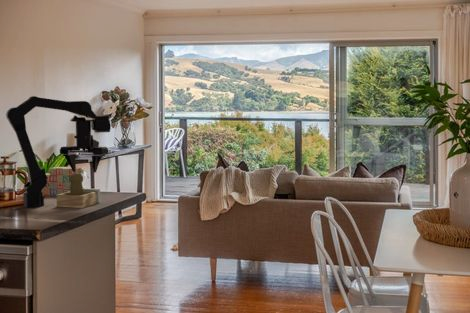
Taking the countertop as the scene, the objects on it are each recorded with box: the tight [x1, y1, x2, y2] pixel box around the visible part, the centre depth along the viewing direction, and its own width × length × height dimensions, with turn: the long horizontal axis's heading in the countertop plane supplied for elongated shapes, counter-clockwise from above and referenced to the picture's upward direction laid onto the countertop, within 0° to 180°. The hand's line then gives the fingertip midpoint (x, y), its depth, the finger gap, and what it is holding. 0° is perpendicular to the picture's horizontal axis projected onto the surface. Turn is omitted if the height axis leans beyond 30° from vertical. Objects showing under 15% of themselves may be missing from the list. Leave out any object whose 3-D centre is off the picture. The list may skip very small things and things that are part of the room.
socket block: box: [55, 191, 98, 209], centre depth 221 cm, size 11×11×4 cm
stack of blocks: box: [41, 166, 83, 197], centre depth 252 cm, size 21×6×12 cm, turn 82°
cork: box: [69, 173, 84, 196], centre depth 220 cm, size 6×6×11 cm
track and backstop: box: [83, 187, 101, 204], centre depth 219 cm, size 19×12×6 cm, turn 164°
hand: (84, 172), depth 225 cm, fingers open, 9 cm apart
